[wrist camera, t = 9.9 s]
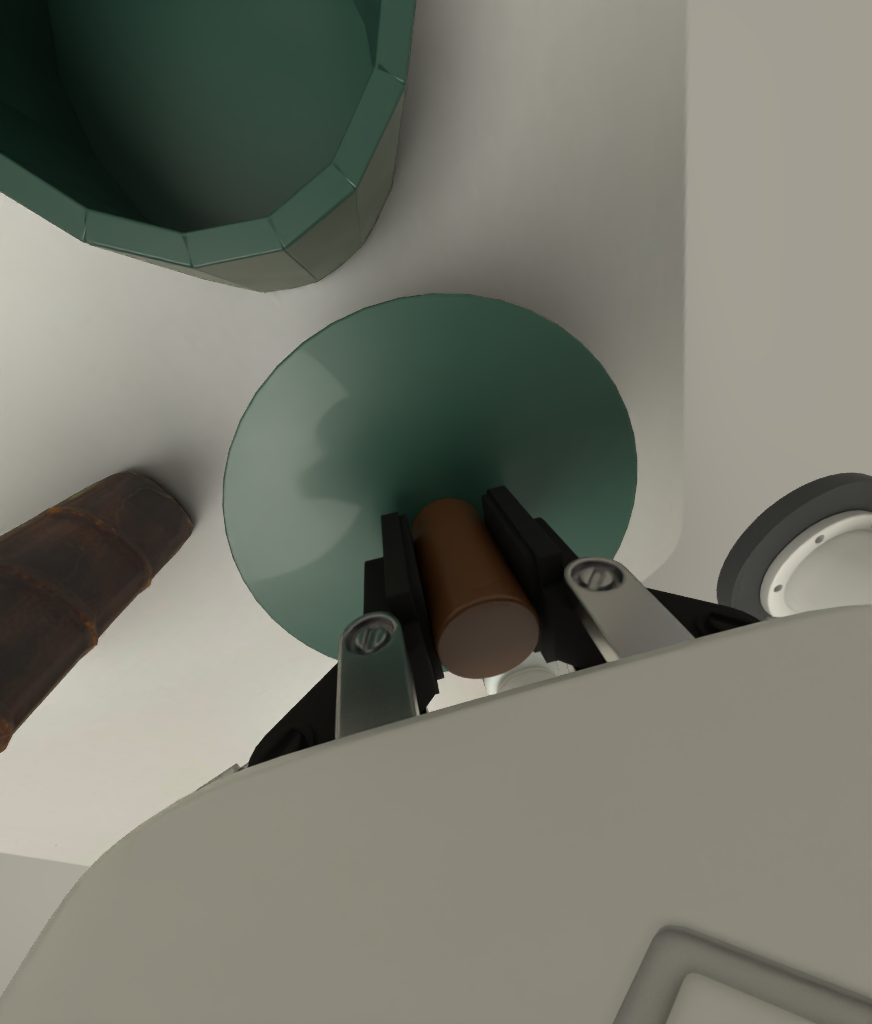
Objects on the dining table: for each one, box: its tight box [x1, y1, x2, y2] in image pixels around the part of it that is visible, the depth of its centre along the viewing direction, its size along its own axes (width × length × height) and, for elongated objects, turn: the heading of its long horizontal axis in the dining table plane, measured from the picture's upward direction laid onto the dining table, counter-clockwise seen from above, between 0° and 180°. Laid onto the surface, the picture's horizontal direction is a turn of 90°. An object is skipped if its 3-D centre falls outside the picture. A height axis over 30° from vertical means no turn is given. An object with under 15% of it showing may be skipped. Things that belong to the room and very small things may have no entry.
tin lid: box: [222, 293, 637, 679], centre depth 11 cm, size 14×14×6 cm
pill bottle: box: [483, 652, 559, 695], centre depth 24 cm, size 5×5×8 cm
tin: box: [0, 0, 416, 293], centre depth 11 cm, size 13×13×8 cm
